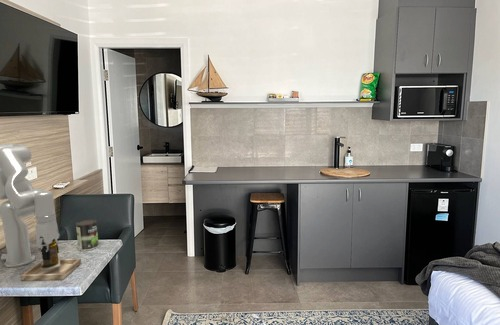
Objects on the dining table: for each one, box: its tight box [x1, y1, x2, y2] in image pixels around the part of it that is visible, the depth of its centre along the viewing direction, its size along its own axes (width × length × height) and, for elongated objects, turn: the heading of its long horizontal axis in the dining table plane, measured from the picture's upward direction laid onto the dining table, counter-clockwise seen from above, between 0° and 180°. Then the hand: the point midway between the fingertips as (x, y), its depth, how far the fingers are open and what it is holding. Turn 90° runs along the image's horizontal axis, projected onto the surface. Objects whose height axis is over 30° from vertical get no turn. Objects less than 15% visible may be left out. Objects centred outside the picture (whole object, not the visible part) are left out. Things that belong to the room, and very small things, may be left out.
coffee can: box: [75, 219, 100, 252], centre depth 185 cm, size 10×10×14 cm
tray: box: [20, 258, 82, 282], centre depth 158 cm, size 18×16×2 cm
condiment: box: [42, 239, 60, 269], centre depth 155 cm, size 7×8×12 cm
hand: (50, 256), depth 157 cm, fingers closed on condiment, 6 cm apart
